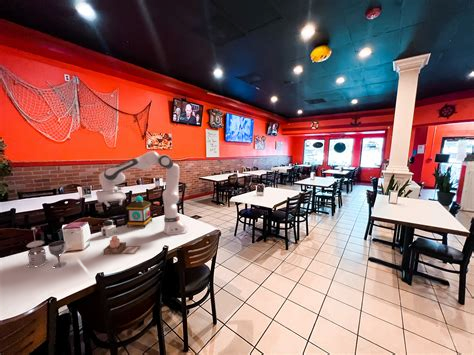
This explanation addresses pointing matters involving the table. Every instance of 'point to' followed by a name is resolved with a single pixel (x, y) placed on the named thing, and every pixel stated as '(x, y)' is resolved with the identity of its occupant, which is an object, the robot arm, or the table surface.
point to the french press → (39, 256)
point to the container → (108, 228)
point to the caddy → (121, 249)
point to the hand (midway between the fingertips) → (115, 205)
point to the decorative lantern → (139, 212)
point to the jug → (114, 243)
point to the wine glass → (57, 252)
